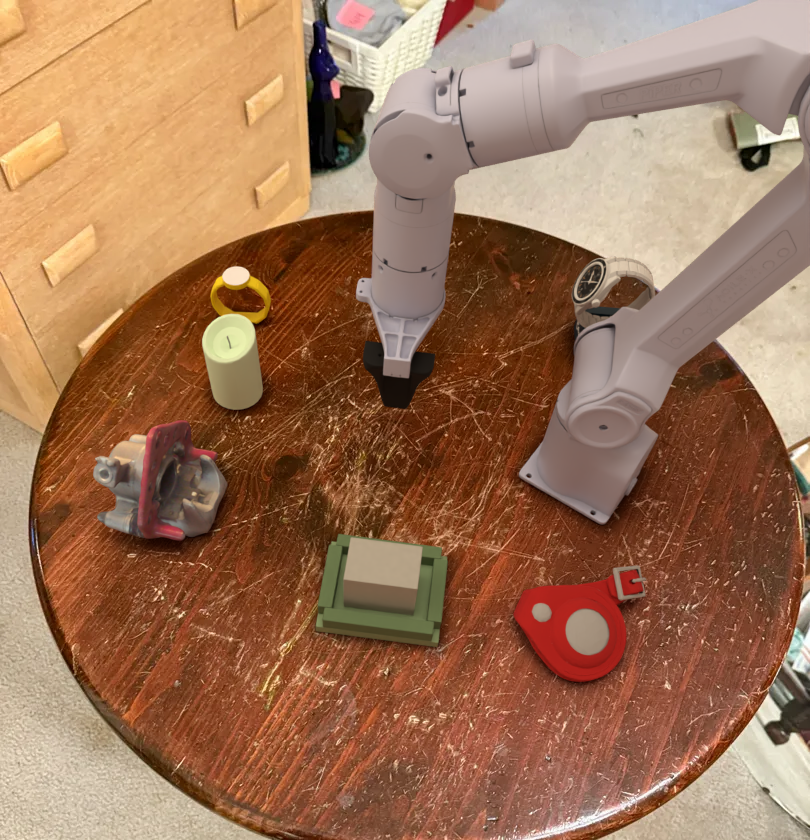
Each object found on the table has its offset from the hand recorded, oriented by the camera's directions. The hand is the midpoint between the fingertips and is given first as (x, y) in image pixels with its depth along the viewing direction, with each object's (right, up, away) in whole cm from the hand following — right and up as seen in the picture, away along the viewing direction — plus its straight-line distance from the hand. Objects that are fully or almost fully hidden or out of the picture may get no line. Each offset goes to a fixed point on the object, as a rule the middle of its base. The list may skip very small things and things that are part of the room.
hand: (400, 371), depth 72 cm
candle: (-16, 0, +10) cm, 19 cm away
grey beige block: (-2, -19, -2) cm, 19 cm away
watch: (+21, +6, +16) cm, 27 cm away
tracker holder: (+16, -23, -1) cm, 28 cm away
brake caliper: (-21, -12, +3) cm, 24 cm away
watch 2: (-17, +9, +15) cm, 24 cm away
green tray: (-2, -20, -1) cm, 20 cm away
